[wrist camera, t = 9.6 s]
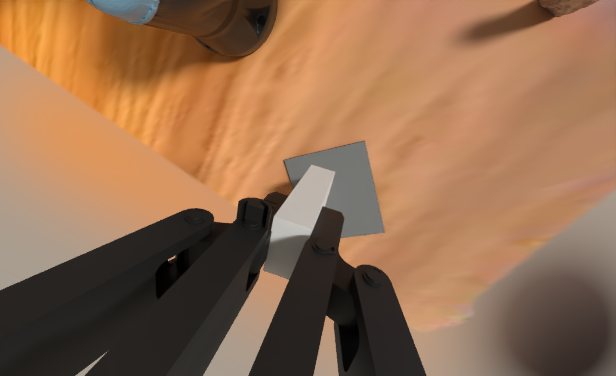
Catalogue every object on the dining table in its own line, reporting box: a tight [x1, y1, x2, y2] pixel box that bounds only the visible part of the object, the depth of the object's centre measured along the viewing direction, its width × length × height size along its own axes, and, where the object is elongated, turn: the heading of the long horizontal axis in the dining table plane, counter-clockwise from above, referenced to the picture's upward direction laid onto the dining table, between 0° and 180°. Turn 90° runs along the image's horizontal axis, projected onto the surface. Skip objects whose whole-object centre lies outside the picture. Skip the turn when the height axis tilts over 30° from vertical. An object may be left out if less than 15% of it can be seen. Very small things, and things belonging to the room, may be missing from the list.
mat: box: [284, 141, 385, 238], centre depth 49 cm, size 18×15×1 cm
